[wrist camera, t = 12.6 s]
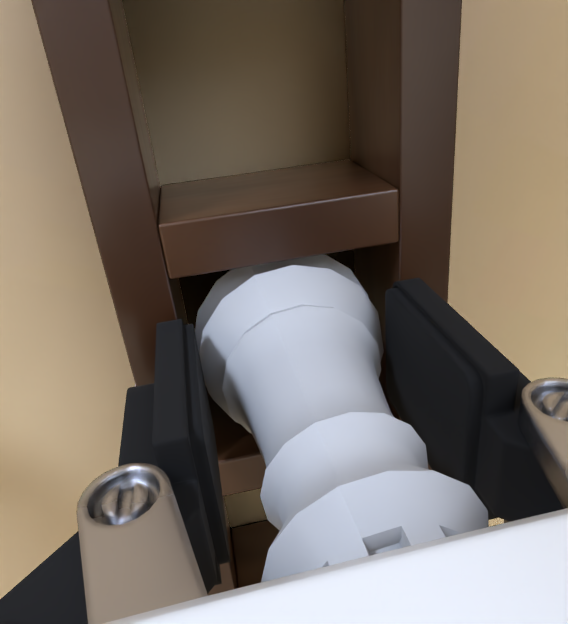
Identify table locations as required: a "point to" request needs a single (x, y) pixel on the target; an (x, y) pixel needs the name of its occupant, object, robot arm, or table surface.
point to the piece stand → (263, 192)
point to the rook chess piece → (322, 417)
